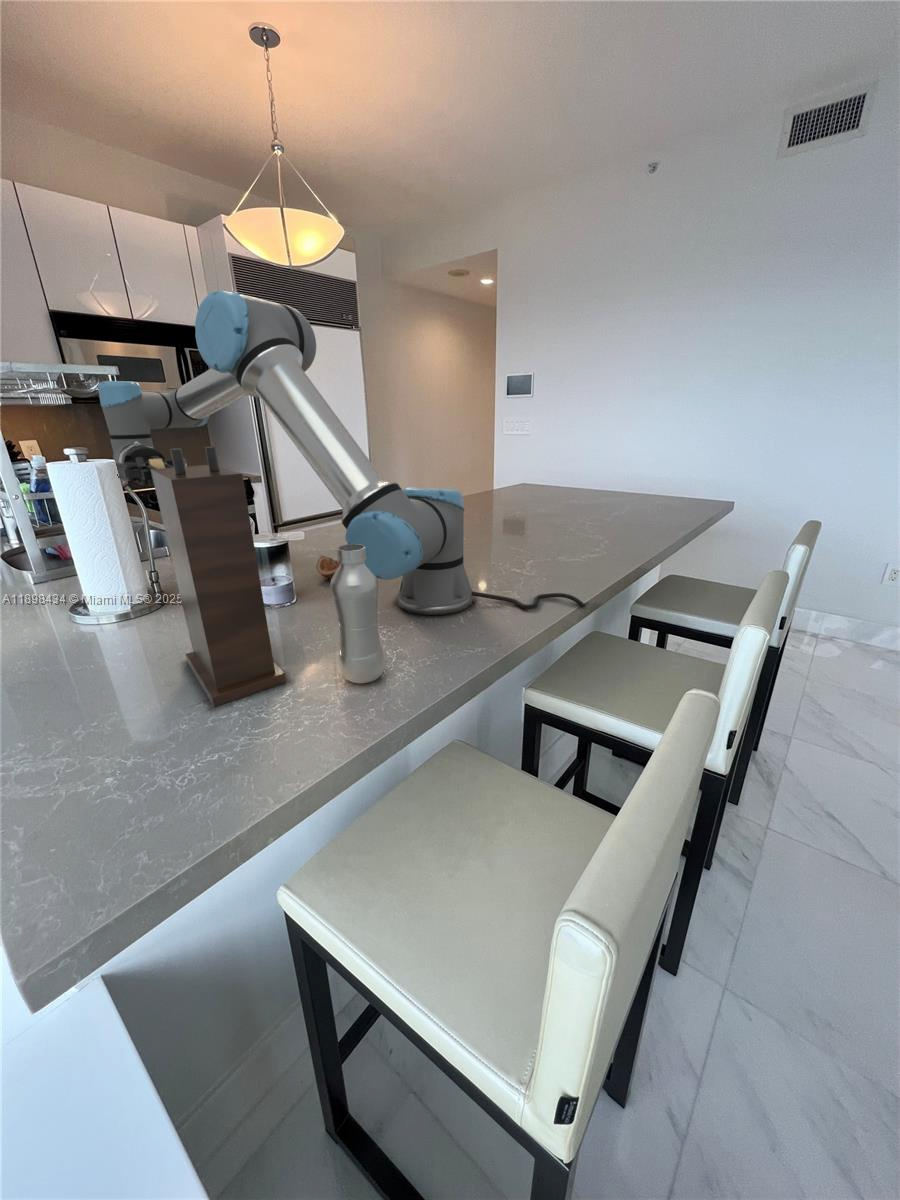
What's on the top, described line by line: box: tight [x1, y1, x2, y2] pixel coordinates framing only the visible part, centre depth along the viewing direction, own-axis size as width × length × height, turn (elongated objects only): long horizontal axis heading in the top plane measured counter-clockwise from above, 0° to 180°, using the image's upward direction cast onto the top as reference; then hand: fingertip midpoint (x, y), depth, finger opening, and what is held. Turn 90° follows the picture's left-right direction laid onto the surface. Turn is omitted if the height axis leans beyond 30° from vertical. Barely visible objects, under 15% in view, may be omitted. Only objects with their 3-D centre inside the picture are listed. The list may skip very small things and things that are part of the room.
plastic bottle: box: [329, 543, 386, 684], centre depth 69 cm, size 6×7×20 cm
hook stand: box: [151, 446, 287, 708], centre depth 69 cm, size 16×10×33 cm, turn 38°
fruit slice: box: [315, 555, 340, 580], centre depth 114 cm, size 8×7×5 cm
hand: (165, 476), depth 81 cm, fingers closed on hanger bar, 2 cm apart
